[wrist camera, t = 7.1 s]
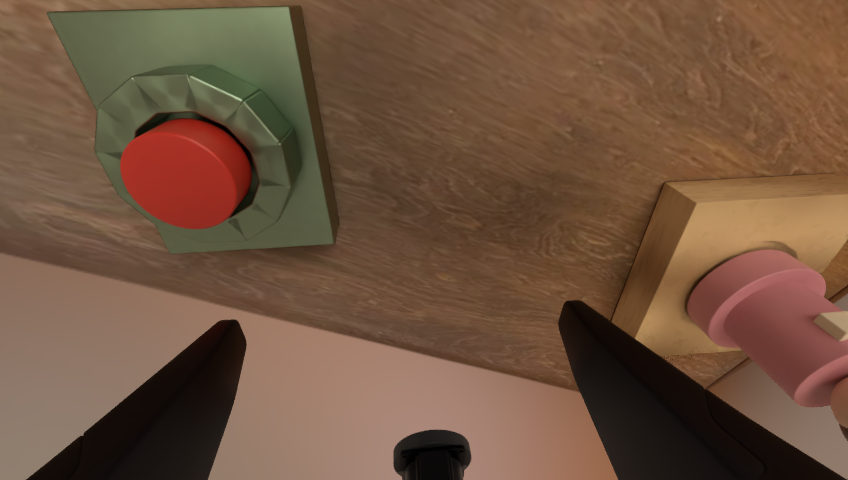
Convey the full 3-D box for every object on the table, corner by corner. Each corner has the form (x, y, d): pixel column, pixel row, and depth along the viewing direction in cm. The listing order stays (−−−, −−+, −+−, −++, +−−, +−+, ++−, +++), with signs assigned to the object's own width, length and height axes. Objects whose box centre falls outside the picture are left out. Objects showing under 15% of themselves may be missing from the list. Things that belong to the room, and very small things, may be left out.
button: (263, 205, 15) (249, 227, 13) (172, 210, 14) (148, 233, 13) (236, 115, 13) (216, 129, 11) (130, 119, 12) (95, 134, 11)
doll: (762, 322, 23) (962, 493, 15) (672, 329, 22) (826, 508, 15) (816, 245, 19) (1112, 412, 11) (711, 252, 19) (940, 429, 11)
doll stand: (735, 321, 27) (764, 348, 25) (607, 331, 26) (625, 359, 24) (833, 173, 20) (884, 192, 18) (664, 181, 20) (696, 202, 18)
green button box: (339, 224, 19) (329, 269, 16) (189, 232, 19) (146, 281, 16) (300, 5, 14) (272, 6, 11) (87, 10, 14) (-12, 13, 10)
